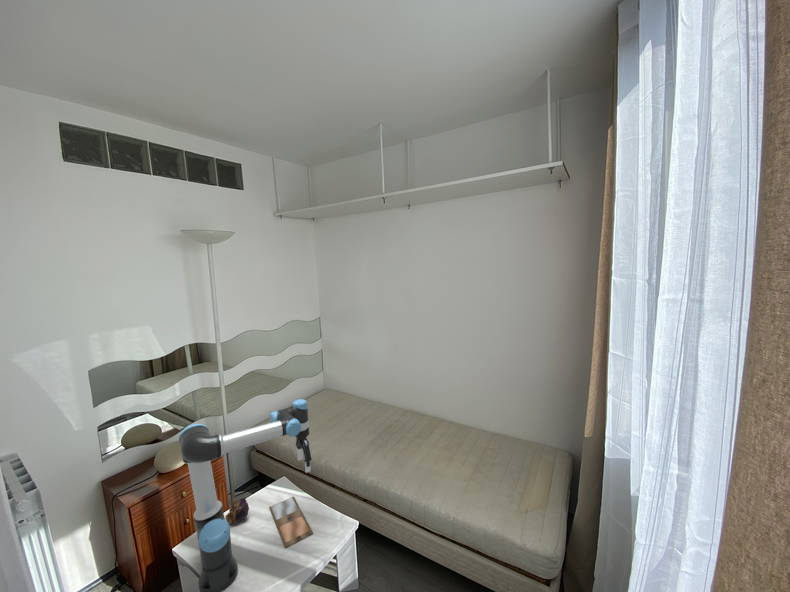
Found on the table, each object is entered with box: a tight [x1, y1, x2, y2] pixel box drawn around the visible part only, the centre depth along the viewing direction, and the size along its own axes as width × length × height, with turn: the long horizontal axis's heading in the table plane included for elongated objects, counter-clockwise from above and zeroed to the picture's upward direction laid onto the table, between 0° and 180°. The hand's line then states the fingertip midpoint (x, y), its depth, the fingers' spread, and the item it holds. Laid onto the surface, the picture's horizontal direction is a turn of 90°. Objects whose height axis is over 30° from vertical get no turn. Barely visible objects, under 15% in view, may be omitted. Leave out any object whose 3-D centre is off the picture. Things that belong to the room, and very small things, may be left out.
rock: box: [224, 497, 250, 525], centre depth 173 cm, size 12×8×10 cm
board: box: [268, 496, 314, 549], centre depth 172 cm, size 14×33×1 cm, turn 34°
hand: (304, 465), depth 177 cm, fingers open, 13 cm apart
